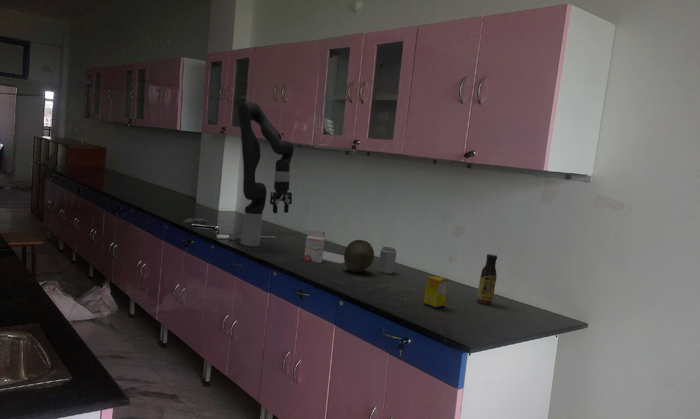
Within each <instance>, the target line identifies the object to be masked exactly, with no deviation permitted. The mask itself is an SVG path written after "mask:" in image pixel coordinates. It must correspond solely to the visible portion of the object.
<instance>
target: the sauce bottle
mask: <svg viewBox="0 0 700 419" xmlns="http://www.w3.org/2000/svg"><path fill="white" fill-rule="evenodd" d="M497 259H498V255H497V254H492V253H487V255H486V261H485V266H483V268H482V269H481V273H480V277H479V284H478V288H477V289H478V290H477V294H476V302H477V303H479V304H482V305H487V306H488V305H492V304H493V303H492V302H494V294H495V287H496V283H497V269H496V264H497Z"/></svg>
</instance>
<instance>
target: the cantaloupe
mask: <svg viewBox="0 0 700 419" xmlns="http://www.w3.org/2000/svg"><path fill="white" fill-rule="evenodd" d="M343 256H344V261H345V263H344V264H345V266H346V268H347V269H348V270H349V271H351V272H353V273H361V272H363V271H365V270H367V269H368V268H369V267H371V265H372V264H373V262H374V259H375V251H374V249H373V246H372V244H371V242H368V241H367V240H363V239H355V240H353V241H351V242H349V244H348V245H347V246H346V248H345V250H344V253H343Z"/></svg>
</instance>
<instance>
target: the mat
mask: <svg viewBox="0 0 700 419" xmlns="http://www.w3.org/2000/svg"><path fill="white" fill-rule="evenodd" d="M304 255H305V253H303V256H304ZM322 261H326V262H329V263H330V262H331V263H335V264H338V265H339V264H340V265H342V264H345V261H344V254H343V255H342V254H338V253H336V252H335V253H334V252H330V251H326V250H323V258H322Z"/></svg>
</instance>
